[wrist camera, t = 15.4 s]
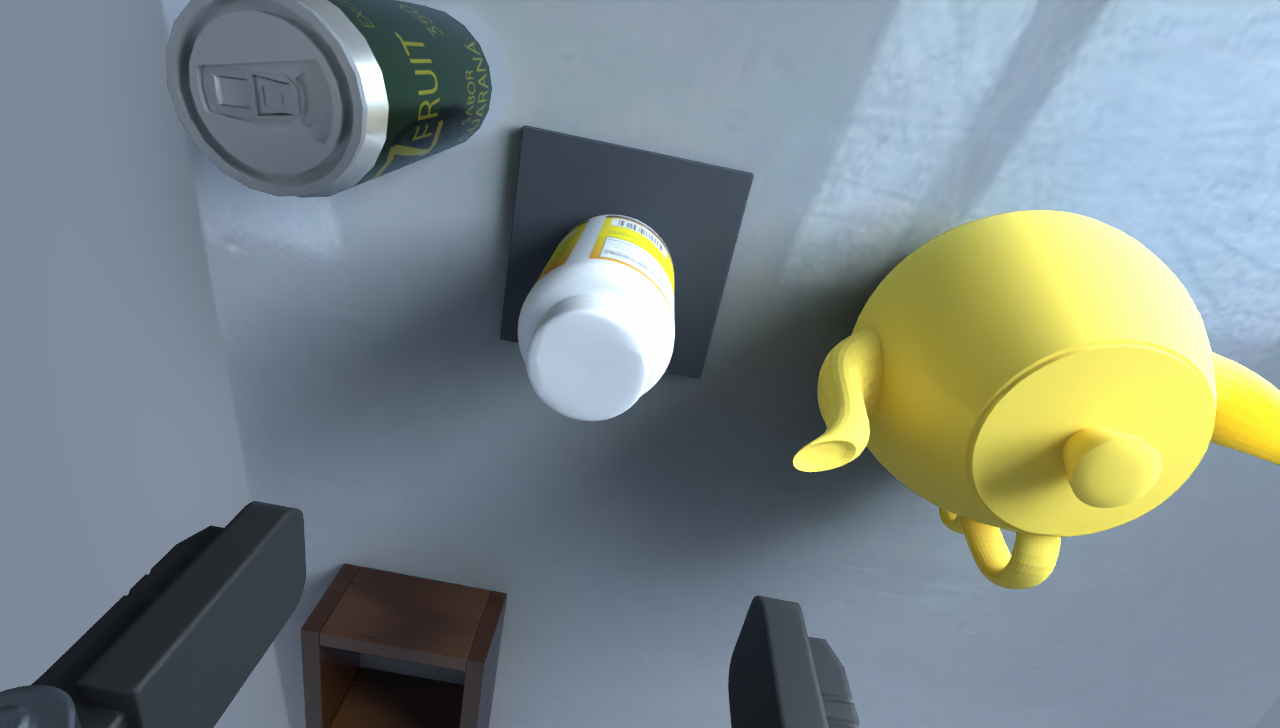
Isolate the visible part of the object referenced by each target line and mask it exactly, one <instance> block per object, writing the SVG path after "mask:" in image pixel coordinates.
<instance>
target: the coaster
mask: <svg viewBox="0 0 1280 728" xmlns="http://www.w3.org/2000/svg"><path fill="white" fill-rule="evenodd" d="M753 177H754V175H753V174H752V173H748V172H744V171H739V170H734V169H729V168H725V167H720V166H715V165H710V164H706V163H701V162H696V161H691V160H687V159H682V158H677V157H672V156H668V155H663V154H658V153H653V152H649V151H644V150H639V149H634V148H630V147H625V146H620V145H615V144H611V143H606V142H601V141H597V140H592V139H587V138H582V137H578V136H573V135H568V134H563V133H559V132H554V131H549V130H544V129H540V128H535V127H530V126H523V129H522V138H521V148H520V157H519V166H518V176H517V185H516V194H515V204H514V213H513V223H512V232H511V241H510V251H509V260H508V270H507V279H506V288H505V298H504V307H503V316H502V326H501V335H500V339H502V340H507V341H512V342H517V343H519V342H518V321H519V315H520V312H521V309H522V306H523V304H524V302H525V300H526V298H527V296H528V294H529V292H530V291H531V289H532V288H533V286H534V284H535V283H536V281H537V279H538V278H539V276H540V275H541V273H542V271H543V270H544V268H545V266H546V265H547V263H548V261H549V260H550V258H551V257H552V255H553V253H554V252H555V250H556V248H557V247H558V245H559V244H560V242H561V241H562V239H563V238H564V237H565V236H566V235H567V234H568V232H570V231H571V230H572V229H573V228H574V227H575V226H577V225H578V224H580V223H581V222H583V221H585V220H587V219H590V218H593V217H596V216H601V215H622V216H627V217H630V218H633V219H636V220H638V221H640V222H642V223H644V224H645V225H647V226H648V227H650V228H651V229H652V230H653V231H654V232H655V233H656V234H657V235H658V236H659V237H660V238H661V239H662V241H663V242H664V243H665V245H666V247H667V249H668V251H669V253H670V256H671V259H672V263H673V267H674V321H675V339H674V346H673V352H672V356H671V359H670V362H669V365H668V366H667V368H666V370H665V372H668V373H673V374H678V375H683V376H688V377H693V378H698V379H700V377H701V373H702V369H703V365H704V361H705V358H706V354H707V350H708V346H709V343H710V339H711V335H712V331H713V328H714V324H715V320H716V316H717V312H718V309H719V305H720V301H721V297H722V294H723V290H724V286H725V282H726V278H727V275H728V271H729V267H730V263H731V260H732V256H733V252H734V248H735V244H736V241H737V237H738V233H739V229H740V226H741V222H742V218H743V214H744V211H745V207H746V203H747V199H748V195H749V192H750V188H751V184H752V180H753Z"/></svg>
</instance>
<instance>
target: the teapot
mask: <svg viewBox="0 0 1280 728" xmlns="http://www.w3.org/2000/svg"><path fill="white" fill-rule="evenodd" d="M818 403H819V408H820V411H821V415H822V417H823V419H824V421H825V424H826V426H827V430H826V431H825V433H824V434H823V435H821V436H820V437H818V438H817V439H815V440H814V441H812V442H810V443H809V444H807V445H806V446H804V447H803V448H802V449H800V450H799V451H798V452H797V454H796V455H795V456H794V459H793V465H794V467H795V468H796V469H798V470H801V471H806V472H819V471H826V470H831V469H835V468H837V467H840V466H843V465H845V464H847V463H849V462H851V461H853V460H854V459H855V458H857V457H858V456H859V455H860V454H861V452H862V451H863V450H864V449H865V447H866V446H867V447H868V449H869V450H870V451H871V452H872V454H873V455H874V456H875V458H876V459H877V460H878V461H879V462H880V463H881V464H882V465H883V466H884V467H885V468H886V469H887V470H888V471H889V472H890V473H891V474H892V475H893V476H894V477H895V478H897V479H898V480H899V481H900V482H901V483H902V484H904V485H905V486H906V487H907V488H909V489H910V490H912V491H913V492H915V493H916V494H918V495H919V496H921V497H922V498H924V499H926V500H927V501H929V502H931V503H933V504H935V505H937V506H939V515H940V518H941V520H942V522H943V523H944V524H945V525H946V526H947V527H948V528H949V529H951V530H952V531H955V532H957V533H960V534H965V537H966V540H967V543H968V546H969V548H970V551H971V553H972V555H973V558H974V560H975V562H976V564H977V566H978V568H979V569H980V571H981V572H982V574H983V575H984V576H985V577H986V578H987V579H988V580H989V581H991V582H993V583H994V584H996V585H999V586H1002V587H1005V588H1010V589H1026V588H1031V587H1034V586H1036V585H1038V584H1040V583H1042V582H1043V581H1044V580H1045V579H1046V578H1047V577H1048V576H1049V575H1050V573H1051V572H1052V570H1053V568H1054V566H1055V564H1056V560H1057V557H1058V554H1059V549H1060V544H1061V539H1060V537H1068V536H1079V535H1086V534H1091V533H1097V532H1100V531H1104V530H1107V529H1111V528H1114V527H1117V526H1119V525H1122V524H1125V523H1127V522H1129V521H1131V520H1133V519H1136V518H1138V517H1140V516H1142V515H1143V514H1145V513H1147V512H1149V511H1150V510H1152V509H1154V508H1155V507H1156V506H1158V505H1159V504H1161V503H1162V502H1163V501H1165V500H1166V499H1167V498H1169V497H1170V496H1171V495H1172V494H1173V493H1174V492H1175V491H1177V490H1178V489H1179V488H1180V487H1181V486H1182V484H1183V483H1184V482H1185V481H1186V480H1187V479H1188V478H1189V477H1190V476H1191V474H1192V473H1193V471H1194V470H1195V469H1196V467H1197V466H1198V465H1199V463H1200V461H1201V459H1202V458H1203V456H1204V454H1205V452H1206V450H1207V448H1208V445H1209V443H1210V442H1212V443H1215V444H1219V445H1222V446H1225V447H1229V448H1232V449H1235V450H1238V451H1241V452H1244V453H1247V454H1250V455H1253V456H1256V457H1259V458H1261V459H1264V460H1267V461H1270V462H1272V463H1275V464H1278V465H1280V391H1279V390H1278V389H1277V388H1275V387H1274V386H1273V385H1272V384H1270V383H1269V382H1267V381H1266V380H1265V379H1263V378H1262V377H1260V376H1259V375H1257V374H1256V373H1254V372H1253V371H1251V370H1249V369H1247V368H1245V367H1244V366H1242V365H1240V364H1238V363H1236V362H1234V361H1231V360H1229V359H1227V358H1225V357H1222V356H1220V355H1218V354H1215V353H1213V352H1211V348H1210V345H1209V341H1208V338H1207V335H1206V331H1205V328H1204V324H1203V321H1202V318H1201V316H1200V314H1199V312H1198V310H1197V309H1196V307H1195V305H1194V303H1193V301H1192V299H1191V298H1190V296H1189V294H1188V292H1187V291H1186V289H1185V288H1184V287H1183V285H1182V284H1181V283H1180V281H1179V280H1178V279H1177V278H1176V276H1175V275H1174V274H1173V273H1172V272H1171V271H1170V270H1169V268H1168V267H1167V266H1166V265H1165V264H1164V263H1163V262H1162V261H1161V260H1159V259H1158V258H1157V257H1156V256H1155V255H1154V254H1153V253H1152V252H1150V251H1149V250H1148V249H1147V248H1146V247H1144V246H1143V245H1142V244H1141V243H1139V242H1138V241H1136V240H1135V239H1133V238H1132V237H1130V236H1128V235H1127V234H1125V233H1123V232H1122V231H1120V230H1118V229H1116V228H1113V227H1111V226H1109V225H1107V224H1104V223H1102V222H1100V221H1097V220H1095V219H1092V218H1090V217H1086V216H1081V215H1077V214H1073V213H1069V212H1060V211H1050V210H1028V211H1016V212H1010V213H1003V214H997V215H993V216H989V217H986V218H982V219H978V220H975V221H971V222H968V223H966V224H963V225H961V226H958V227H956V228H953V229H951V230H949V231H947V232H945V233H943V234H941V235H939V236H937V237H936V238H934V239H932V240H930V241H928V242H927V243H926V244H924V245H923V246H921V247H920V248H918V249H917V250H915V251H914V252H912V253H911V254H909V255H908V256H907V257H905V258H904V259H903V260H902V262H900V263H899V264H898V265H897V266H896V267H895V268H894V269H893V270H892V271H891V272H890V273H889V274H888V275H887V276H886V277H885V278H884V280H883V281H882V282H881V283H880V284H879V286H878V287H877V288H876V290H875V291H874V292H873V294H872V295H871V296H870V298H869V299H868V301H867V303H866V305H865V306H864V308H863V310H862V312H861V313H860V315H859V317H858V320H857V322H856V325H855V327H854V330H853V332H852V335H851V336H849V337H847V338H846V339H844V340H842V341H841V342H839V343H838V344H837V345H836V346H835V347H834V348H833V349H831V351H830V352H829V353H828V355H827V356H826V358H825V360H824V362H823V365H822V367H821V369H820V373H819V378H818ZM999 528H1002V529H1006V530H1010V531H1015V532H1016V541H1015V545H1014V549H1013V553H1012V556H1011V555H1010V553H1009V550H1008V548H1007V546H1006V544H1005V541H1004V539H1003V536H1002V534H1001V531H1000V529H999Z"/></svg>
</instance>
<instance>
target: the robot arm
mask: <svg viewBox="0 0 1280 728" xmlns="http://www.w3.org/2000/svg"><path fill="white" fill-rule="evenodd" d="M305 579H306V562H305V540H304V519H303V514H302V512H301V510H299V509H295V508H290V507H285V506H279V505H274V504H268V503H263V502H258V501H253V502H251V503H249V504H248V505H246V506H245V507H244V508H243V509H242V510H241V511H240V512H239V513H238V514H237V515H236V516H235V518H234V519H233V520H232V521H231V522H230V523H229V524H228V525H227V526H226V527H225V528H221V527H215V526H209V527H207V528H206V529H204V530H202V531H200V532H199V533H196V534H195V535H193V536H191V537H189V538H187V539H186V540H184V541H182V542H180V543H178V544H177V545H175V546H174V547H173V548H172V549H171V550H170V551H169V552H168V553H167V554H166V555H165V556H164V557H163V558H162V559H161V560H160V561H159V562H158V563H157V564H156V565H155V566H154V567H153V568H152V569H151V572H150V574H149V575H147V574H146V575H145V576H144V577H143V578H142V579H141V580H139V581H138V583H136V585H134V586H133V588H131V589H130V592H129V594H128V595H127V596H123V597H122V598H121V599H120V600H119V601H118V602H117V603H116V604H115V605H114V606H113V607H112V608H111V609H110V610H109V611H108V612H107V613H106V614H105V615H104V616H103V617H102V618H100V619H99V620H98V621H97V622H96V623H95V624H94V625H93V627H91V628H90V629H89V630H88V631H87V632H86V633H85V634H84V635H83V636H82V637H81V638H80V639H79V640H78V641H77V642H76V643H75V644H74V645H73V646H72V647H71V648H70V649H69V650H68V651H67V652H66V653H65V654H64V655H62V657H60V659H58V660H57V661H56V662H55V663H54V664H53V665H52V666H51V667H50V668H49V669H48V670H47V671H46V672H45V673H44V674H43V675H42V676H41V677H40V678H39V679H37V680H36V681H35V682H34V683H33V684H32V685H30V686H23V687H17V688H13V689H9V690H5V691H2V692H0V728H213V727H214V726H215V725H216V723H217V722H218V720H219V719H220V717H221V716H222V714H223V713H224V712H225V710H226V709H227V707H228V706H229V704H230V703H231V701H232V700H233V699H234V697H235V696H236V694H237V693H238V691H239V690H240V688H241V687H242V685H243V684H244V682H245V681H246V680H247V678H248V676H249V675H250V674H251V672H252V671H253V670H254V668H255V667H256V665H257V664H258V662H259V661H260V659H261V658H262V657H263V655H264V653H265V652H266V651H267V649H268V648H269V646H270V645H271V643H272V642H273V641H274V639H275V638H276V636H277V635H278V633H279V632H280V630H281V629H282V628H283V626H284V625H285V623H286V622H287V620H288V619H289V617H290V616H291V614H292V613H293V611H294V610H295V608H296V606H297V604H298V602H299V600H300V597H301V595H302V592H303V589H304V585H305ZM728 689H729V702H730V714H731V726H732V728H859V720H858V716H857V713H856V709H855V705H854V703H852V695H851V691H850V687H849V684H848V680H847V677H846V673H845V669H844V667H843V665H842V664H841V662H840V661H839V659H838V658H837V656H836V655H835V653H834V652H833V650H832V649H831V648H830V646H829V645H828V643H827V642H826V640H824V639H818V638H813V637H808V635H807V631H806V627H805V622H804V618H803V613H802V610H801V607H800V605H799V604H798V603H795V602H790V601H784V600H779V599H774V598H768V597H763V596H755V597H754V598H753V600H752V602H751V605H750V608H749V610H748V613H747V616H746V619H745V621H744V624H743V627H742V629H741V632H740V635H739V638H738V640H737V643H736V646H735V648H734V651H733V654H732V658H731V663H730V669H729V683H728Z"/></svg>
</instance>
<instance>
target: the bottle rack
mask: <svg viewBox="0 0 1280 728" xmlns="http://www.w3.org/2000/svg"><path fill="white" fill-rule="evenodd" d="M506 598H507V594H505V593H500V592H494V591H489V590H483V589H478V588H473V587H467V586H462V585H456V584H451V583H446V582H440V581H435V580H430V579H424V578H419V577H413V576H408V575H403V574H397V573H392V572H387V571H381V570H376V569H370V568H365V567H359V566H354V565H348V564H344V565H343V566H342V568H341V569H340V571H339V572H338V574H337V576H336V577H335V579H334V580H333V582H332V583H331V585H330V586H329V588H328V589H327V591H326V592H325V594H324V595H323V597H322V598H321V600H320V601H319V603H318V604H317V606H316V607H315V609H314V610H313V612H312V613H311V615H310V616H309V618H308V619H307V621H306V622H305V624H304V625H303V627H302V628H301V643H302V661H303V679H304V697H305V715H306V728H489V721H490V714H491V706H492V699H493V692H494V685H495V677H496V670H497V663H498V656H499V648H500V641H501V634H502V627H503V620H504V612H505V605H506ZM360 653H365V654H371V655H376V656H382V657H387V658H393V659H398V660H404V661H409V662H415V663H420V664H426V665H431V666H437V667H442V668H448V669H453V670H459V671H465V670H466V671H465V681H464V686H461V685H455V684H450V683H444V682H439V681H433V680H427V679H422V678H416V677H411V676H405V675H400V674H394V673H389V672H383V671H378V670H372V669H367V668H360Z"/></svg>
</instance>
